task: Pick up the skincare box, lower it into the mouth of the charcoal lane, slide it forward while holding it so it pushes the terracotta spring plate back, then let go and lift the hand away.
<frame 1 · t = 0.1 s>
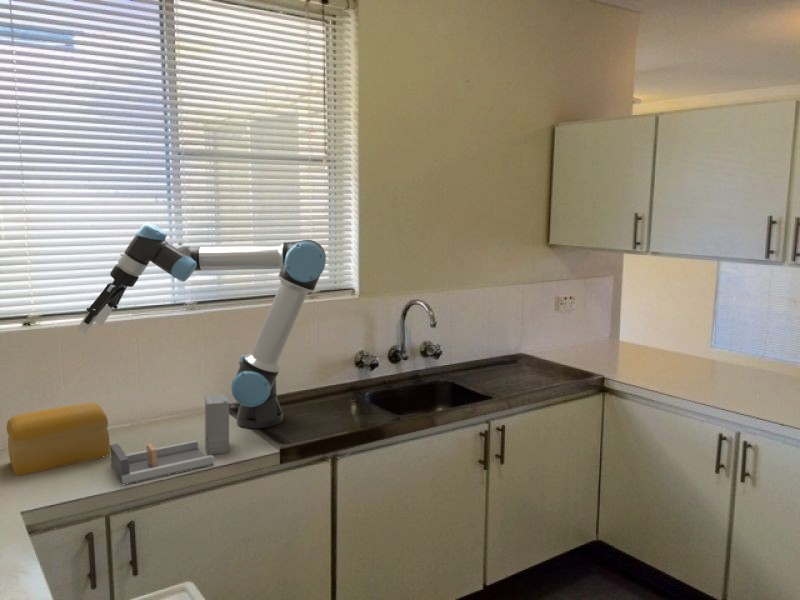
hand: (89, 327, 201), 36 cm above the counter, tool tilted 35°, fingers open, 13 cm apart
bread: (60, 459, 193), on the counter
skincare box: (218, 449, 199), on the counter
lane: (162, 465, 187), on the counter
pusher: (151, 455, 185), point 4 cm above the counter, slide at 0.0 cm
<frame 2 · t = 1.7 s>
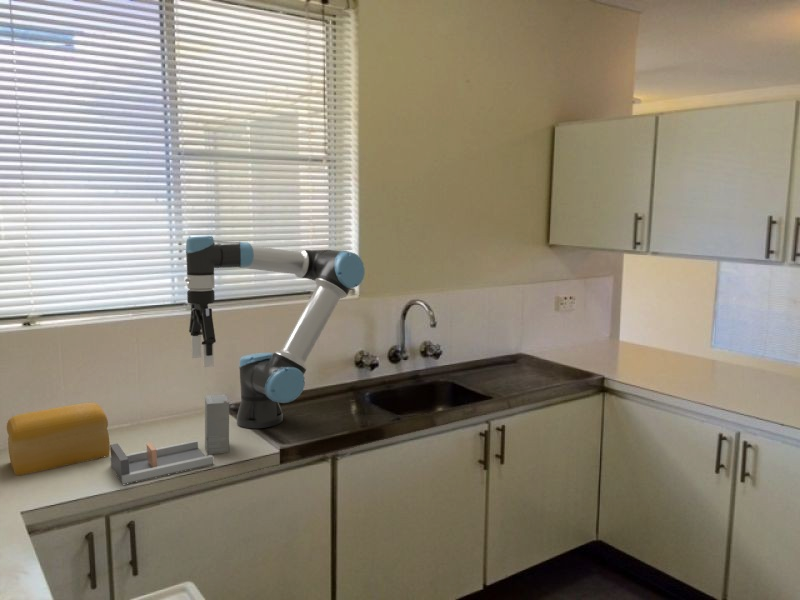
hand: (202, 361, 194), 27 cm above the counter, tool pointing down, fingers open, 13 cm apart
nothing on the counter moved.
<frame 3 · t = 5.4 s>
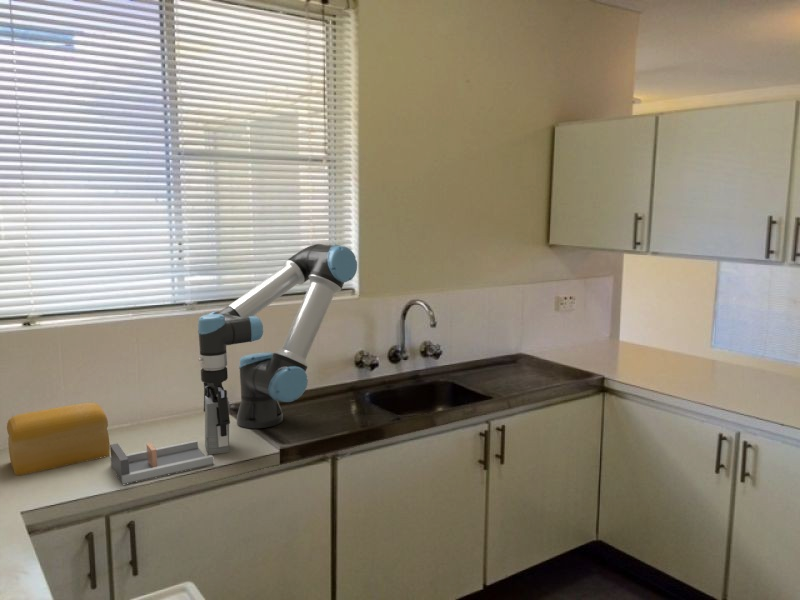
hand: (217, 441, 199), 3 cm above the counter, tool pointing down, fingers closed on skincare box, 9 cm apart
skincare box: (218, 449, 199), on the counter, touching gripper
everything else where it was.
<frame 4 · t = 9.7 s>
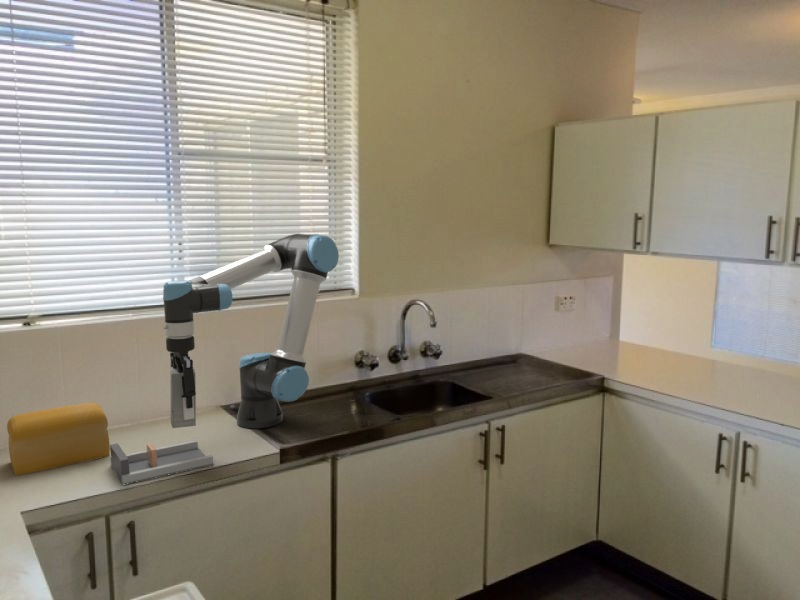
hand: (184, 414, 189), 13 cm above the counter, tool pointing down, fingers closed on skincare box, 9 cm apart
skincare box: (184, 424, 189), point 11 cm above the counter, touching gripper
everything else where it was.
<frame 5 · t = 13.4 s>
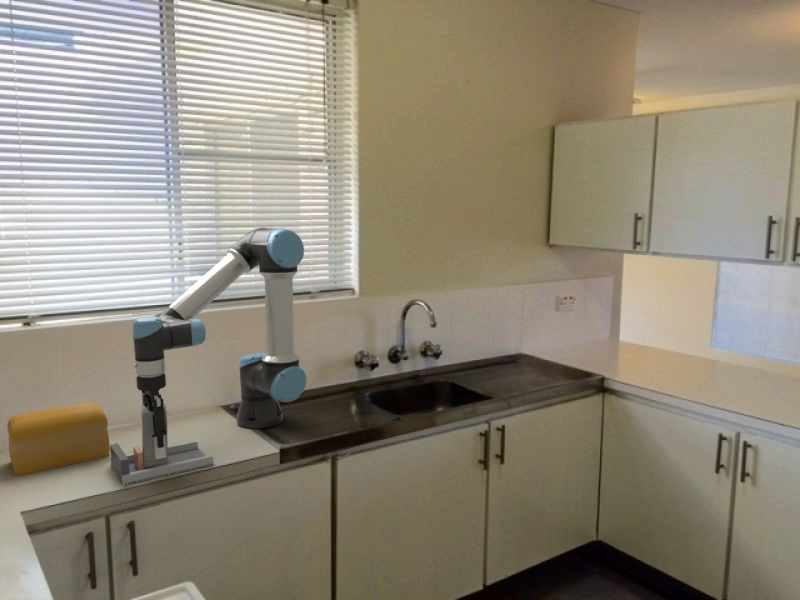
hand: (156, 452, 186), 4 cm above the counter, tool pointing down, fingers closed on skincare box, 9 cm apart
skincare box: (156, 462, 186), point 1 cm above the counter, touching gripper
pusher: (138, 458, 183), point 4 cm above the counter, slide at 3.6 cm
everything else where it was.
when the fingers open (4 cm above the counter, at t = 14.1 s): skincare box stays where it is, resting on lane.
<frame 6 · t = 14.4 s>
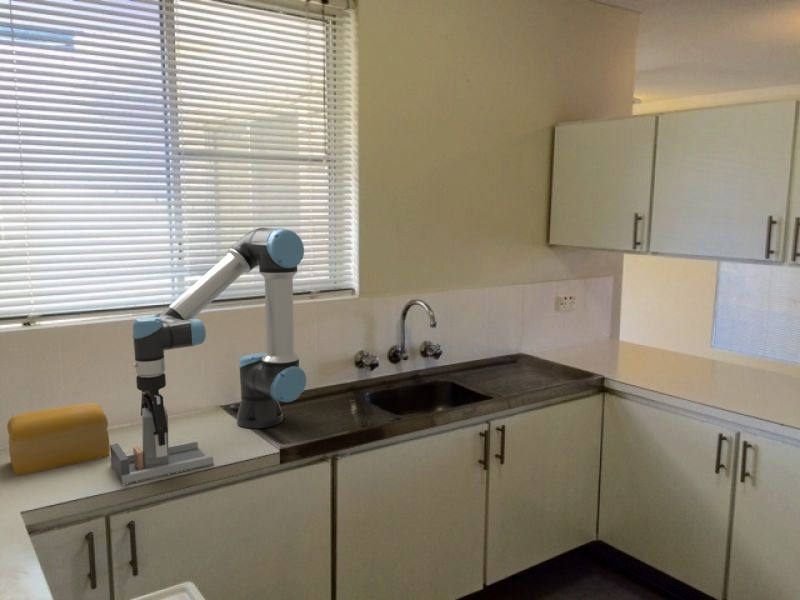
hand: (155, 448, 186), 5 cm above the counter, tool pointing down, fingers open, 12 cm apart
skincare box: (157, 466, 186), resting on lane
everything else where it was.
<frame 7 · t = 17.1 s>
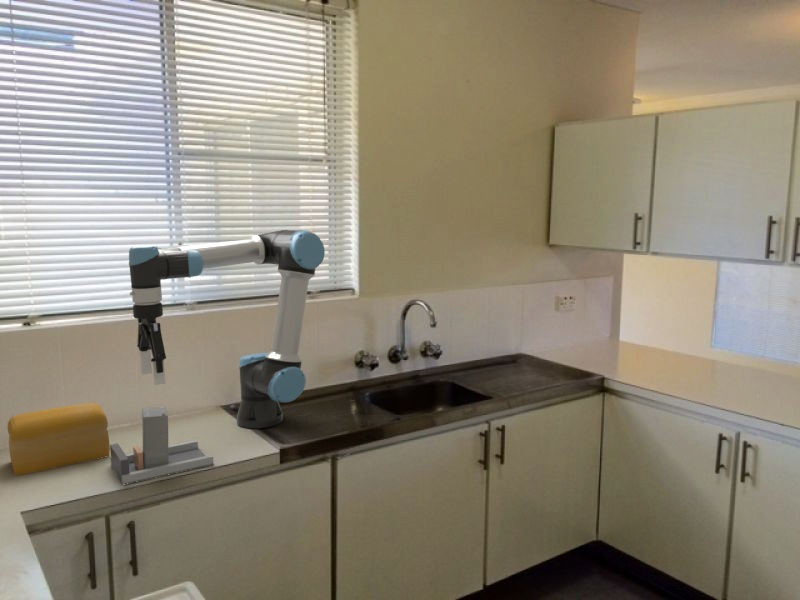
hand: (153, 378, 184), 25 cm above the counter, tool pointing down, fingers open, 13 cm apart
nothing on the counter moved.
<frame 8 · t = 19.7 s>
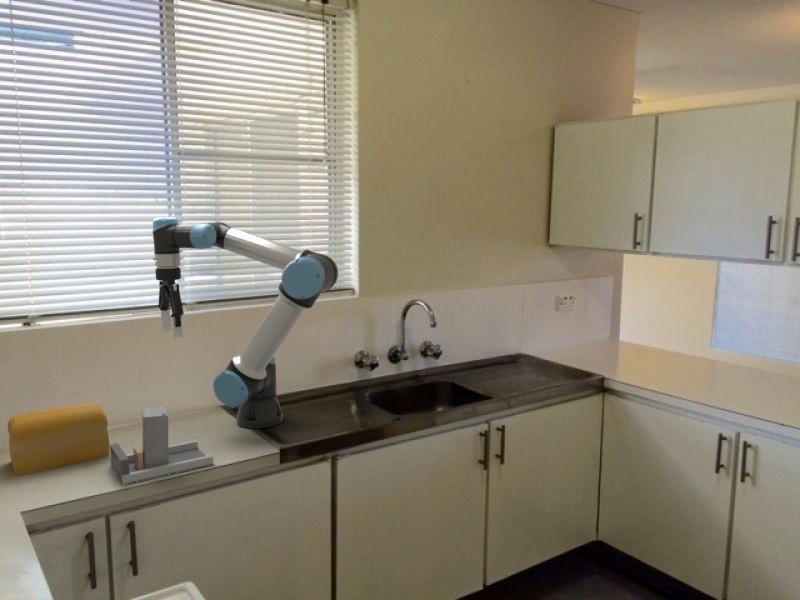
hand: (171, 333, 212), 32 cm above the counter, tool pointing down, fingers open, 13 cm apart
nothing on the counter moved.
at the end: skincare box inside the target area (1.0 cm from its centre), resting on lane; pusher slide at 3.6 cm; skincare box tilted 0° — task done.
